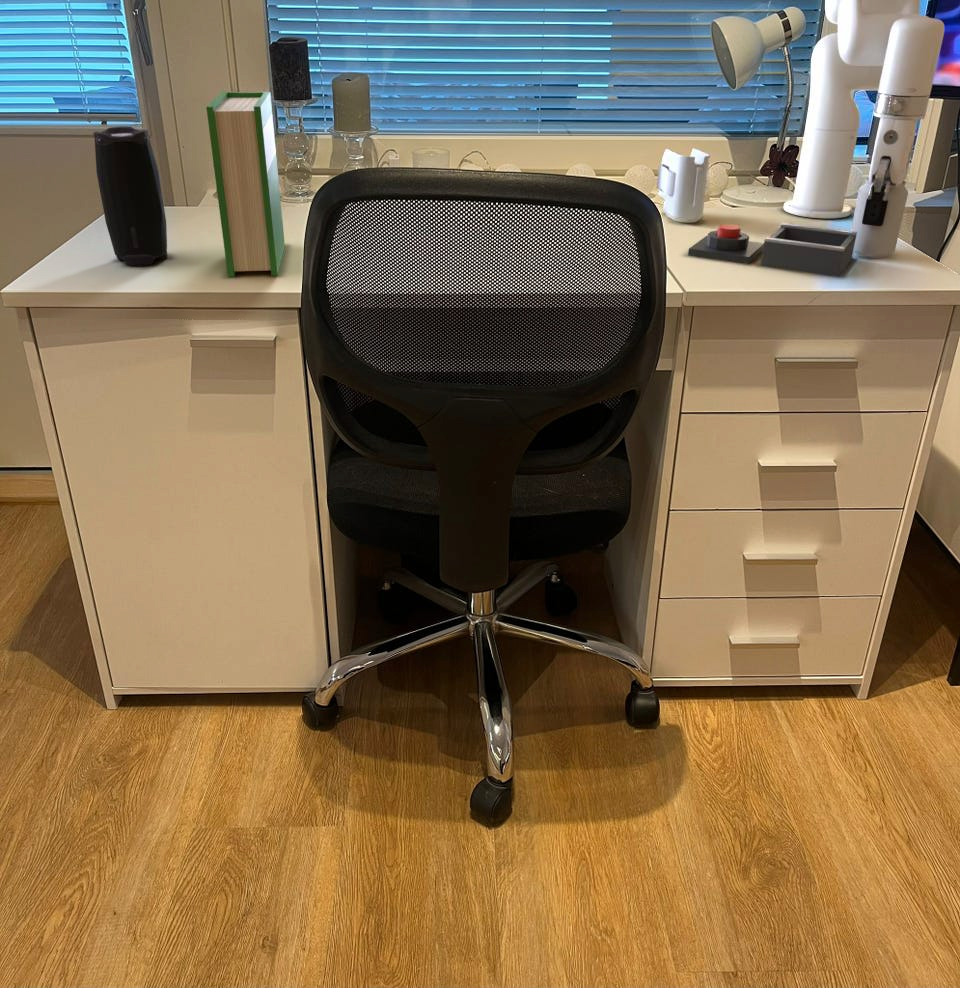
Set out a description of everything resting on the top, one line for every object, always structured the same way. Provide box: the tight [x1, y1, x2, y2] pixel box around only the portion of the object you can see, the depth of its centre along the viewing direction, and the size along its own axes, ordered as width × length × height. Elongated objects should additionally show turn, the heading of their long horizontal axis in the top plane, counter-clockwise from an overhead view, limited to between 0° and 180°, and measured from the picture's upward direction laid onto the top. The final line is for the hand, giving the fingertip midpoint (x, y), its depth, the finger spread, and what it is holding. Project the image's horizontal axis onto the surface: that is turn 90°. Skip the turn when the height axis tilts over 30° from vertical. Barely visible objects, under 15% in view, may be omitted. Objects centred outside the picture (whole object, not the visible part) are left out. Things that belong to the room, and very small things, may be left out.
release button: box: [717, 223, 742, 238], centre depth 154 cm, size 4×4×2 cm
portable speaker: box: [93, 125, 168, 267], centre depth 144 cm, size 9×9×20 cm
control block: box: [687, 229, 764, 265], centre depth 155 cm, size 10×10×3 cm
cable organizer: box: [656, 147, 711, 224], centre depth 174 cm, size 7×12×12 cm, turn 12°
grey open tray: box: [760, 222, 857, 278], centre depth 150 cm, size 12×12×4 cm
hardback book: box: [205, 91, 286, 278], centre depth 144 cm, size 18×7×24 cm, turn 7°
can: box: [850, 177, 909, 259], centre depth 153 cm, size 8×8×12 cm
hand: (876, 218), depth 154 cm, fingers open, 9 cm apart
